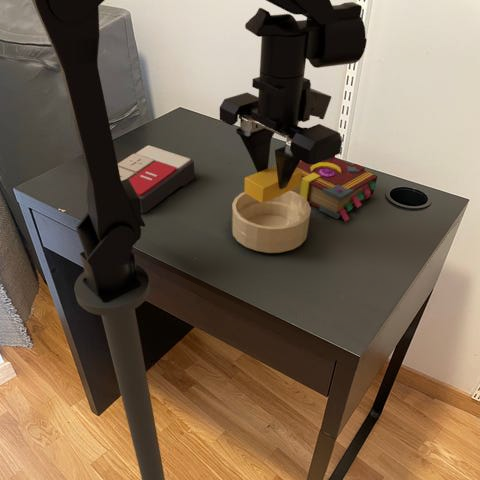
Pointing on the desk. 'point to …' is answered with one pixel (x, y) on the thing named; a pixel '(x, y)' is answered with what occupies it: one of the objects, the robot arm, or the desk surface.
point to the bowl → (271, 222)
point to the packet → (269, 184)
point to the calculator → (156, 174)
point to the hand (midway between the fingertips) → (272, 182)
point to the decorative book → (335, 186)
